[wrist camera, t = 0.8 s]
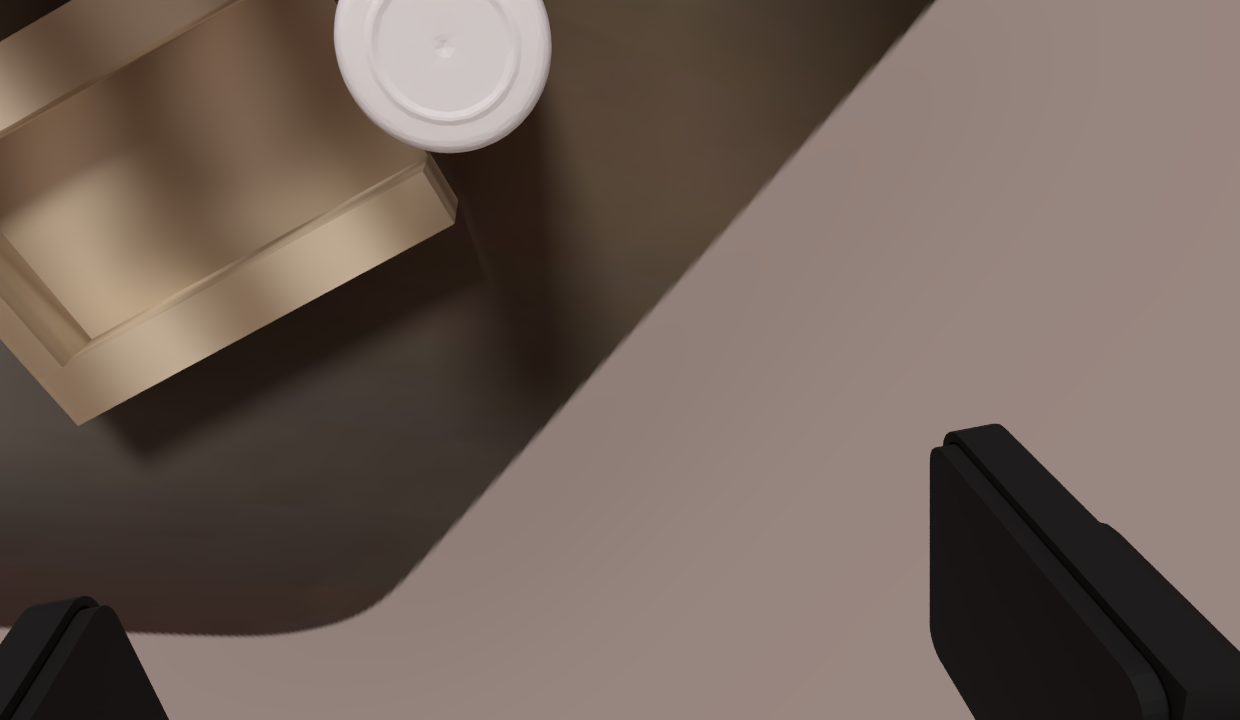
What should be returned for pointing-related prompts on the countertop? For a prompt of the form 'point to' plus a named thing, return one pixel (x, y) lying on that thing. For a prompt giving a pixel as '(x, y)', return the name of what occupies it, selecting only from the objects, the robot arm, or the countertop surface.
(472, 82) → the sprinkles bottle
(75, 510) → the countertop surface
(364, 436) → the countertop surface
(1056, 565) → the robot arm
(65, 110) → the bottle rest
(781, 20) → the countertop surface
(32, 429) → the countertop surface
